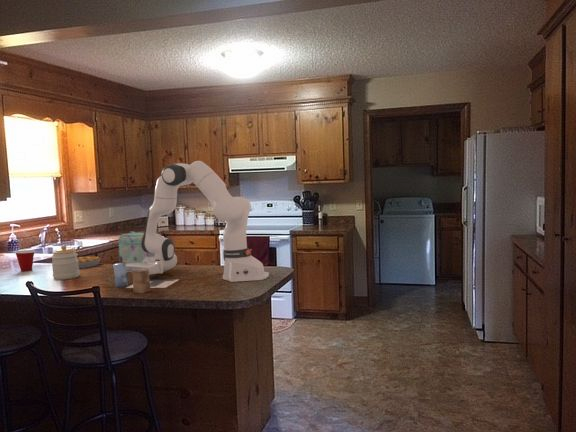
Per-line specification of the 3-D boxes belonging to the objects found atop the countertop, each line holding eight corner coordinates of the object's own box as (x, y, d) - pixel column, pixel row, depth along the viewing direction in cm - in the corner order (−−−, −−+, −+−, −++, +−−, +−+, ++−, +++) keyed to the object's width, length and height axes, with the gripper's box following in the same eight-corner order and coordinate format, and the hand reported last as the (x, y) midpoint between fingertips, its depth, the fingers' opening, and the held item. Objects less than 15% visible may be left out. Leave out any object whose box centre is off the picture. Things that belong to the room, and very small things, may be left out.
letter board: (179, 280, 229) (179, 279, 229) (165, 288, 213) (165, 287, 213) (141, 280, 232) (141, 279, 232) (125, 288, 217) (125, 287, 217)
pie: (57, 266, 288) (56, 258, 287) (94, 261, 302) (93, 253, 301) (67, 271, 271) (67, 262, 271) (106, 265, 285) (105, 256, 285)
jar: (69, 280, 244) (66, 246, 243) (47, 280, 247) (44, 247, 245) (85, 274, 257) (81, 242, 255) (64, 274, 259) (61, 243, 258)
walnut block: (142, 290, 211) (140, 268, 210) (150, 291, 209) (148, 269, 208) (133, 293, 207) (131, 271, 206) (141, 294, 204) (139, 271, 203)
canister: (130, 285, 224) (128, 262, 223) (124, 288, 218) (122, 265, 217) (119, 285, 224) (117, 262, 223) (113, 288, 219) (111, 265, 218)
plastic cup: (36, 271, 276) (34, 250, 275) (15, 273, 273) (13, 252, 271) (38, 267, 287) (36, 248, 285) (18, 270, 283) (16, 250, 282)
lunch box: (116, 270, 263) (112, 233, 261) (127, 267, 273) (124, 230, 271) (157, 271, 255) (154, 232, 253) (167, 267, 265) (164, 229, 263)
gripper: (135, 258, 242) (113, 264, 230) (164, 260, 232) (143, 266, 220) (136, 270, 242) (114, 276, 231) (165, 273, 232) (144, 279, 220)
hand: (128, 271), depth 225 cm, fingers open, 8 cm apart
